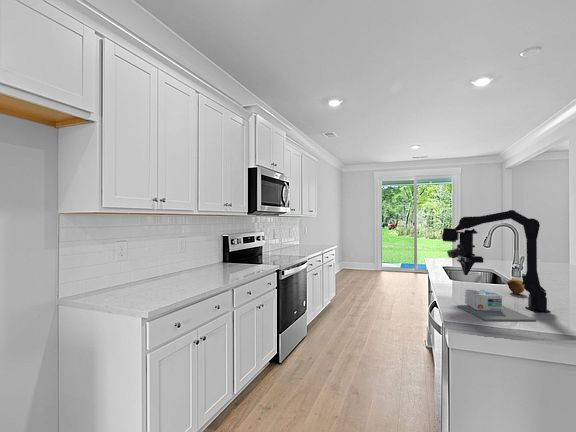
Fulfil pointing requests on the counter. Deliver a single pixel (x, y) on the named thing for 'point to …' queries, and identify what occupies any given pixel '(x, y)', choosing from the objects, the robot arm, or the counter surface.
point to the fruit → (516, 286)
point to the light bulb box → (483, 300)
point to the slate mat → (497, 314)
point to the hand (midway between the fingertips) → (465, 275)
